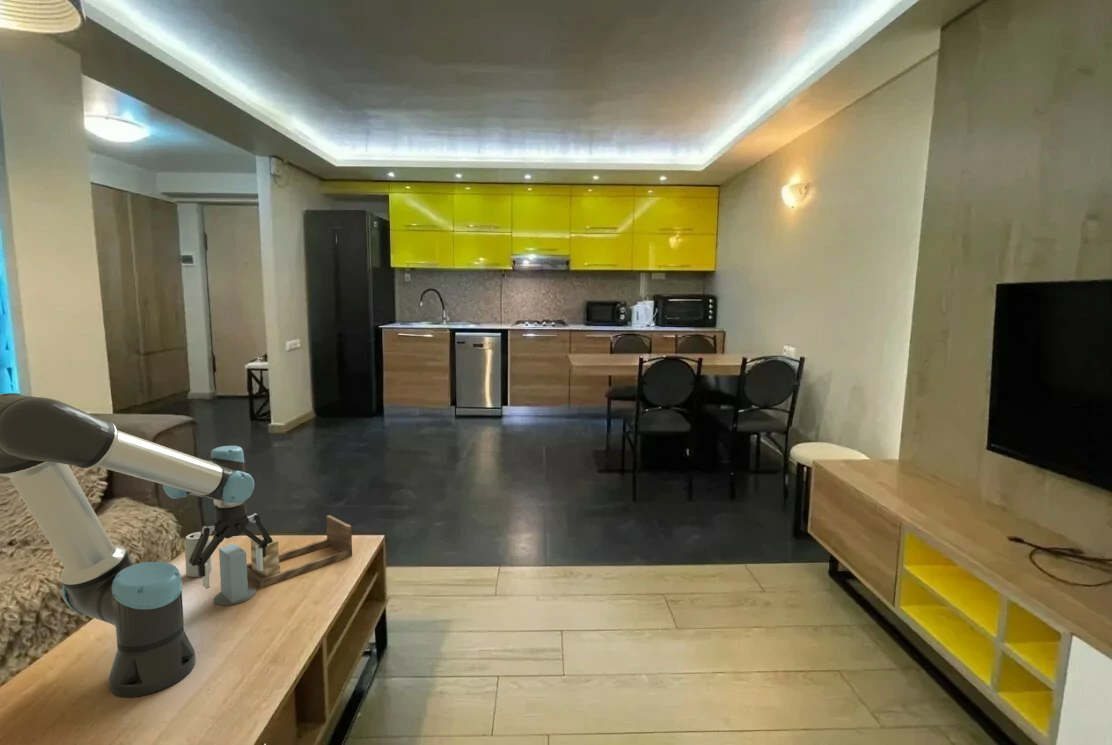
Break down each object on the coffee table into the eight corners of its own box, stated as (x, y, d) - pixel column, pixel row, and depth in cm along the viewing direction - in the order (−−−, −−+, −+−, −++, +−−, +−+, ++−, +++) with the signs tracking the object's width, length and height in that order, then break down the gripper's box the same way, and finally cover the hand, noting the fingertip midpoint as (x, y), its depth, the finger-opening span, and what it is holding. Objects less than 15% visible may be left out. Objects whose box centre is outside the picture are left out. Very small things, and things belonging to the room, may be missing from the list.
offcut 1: (265, 555, 159) (264, 546, 159) (251, 548, 164) (250, 539, 164) (278, 551, 163) (278, 541, 162) (264, 544, 167) (264, 534, 167)
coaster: (221, 610, 145) (221, 608, 145) (208, 596, 151) (208, 595, 151) (261, 595, 152) (261, 594, 152) (247, 583, 159) (247, 582, 159)
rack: (259, 588, 156) (258, 554, 155) (240, 572, 165) (238, 540, 164) (352, 555, 178) (351, 525, 177) (330, 543, 187) (329, 515, 186)
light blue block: (232, 602, 148) (229, 556, 146) (221, 592, 153) (218, 548, 151) (248, 597, 151) (246, 551, 149) (236, 587, 156) (234, 543, 154)
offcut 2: (265, 569, 159) (264, 556, 159) (251, 560, 165) (250, 547, 164) (279, 564, 162) (278, 552, 162) (265, 556, 168) (264, 543, 168)
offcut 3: (266, 583, 160) (265, 570, 159) (252, 572, 166) (251, 559, 165) (280, 578, 163) (280, 565, 162) (266, 567, 169) (265, 555, 168)
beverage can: (188, 570, 166) (186, 532, 165) (213, 566, 169) (211, 529, 167) (184, 580, 160) (182, 540, 159) (210, 576, 163) (208, 537, 161)
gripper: (181, 519, 137) (186, 600, 139) (283, 495, 156) (286, 566, 158) (171, 512, 142) (176, 590, 144) (271, 489, 161) (274, 558, 163)
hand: (234, 577), depth 151 cm, fingers open, 13 cm apart
